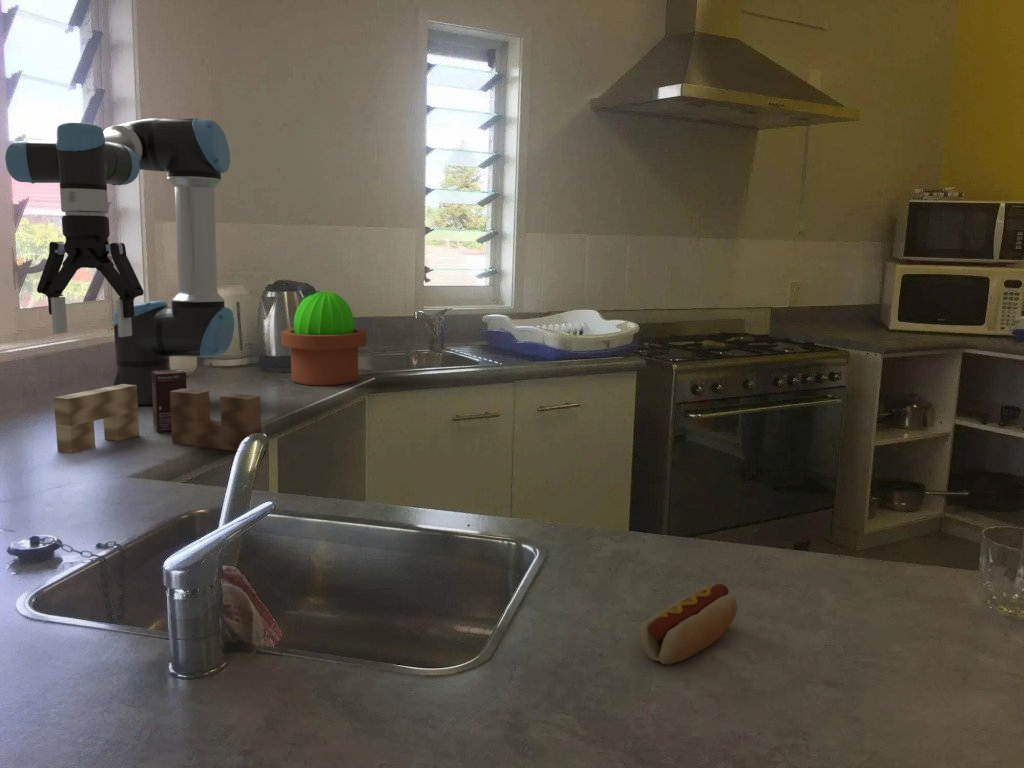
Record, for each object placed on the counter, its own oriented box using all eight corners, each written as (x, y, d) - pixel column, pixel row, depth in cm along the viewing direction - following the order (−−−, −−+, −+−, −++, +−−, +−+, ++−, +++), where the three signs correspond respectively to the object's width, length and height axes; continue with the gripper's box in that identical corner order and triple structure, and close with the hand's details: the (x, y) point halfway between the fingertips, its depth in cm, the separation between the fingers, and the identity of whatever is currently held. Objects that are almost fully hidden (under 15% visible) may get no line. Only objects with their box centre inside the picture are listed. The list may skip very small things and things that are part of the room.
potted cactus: (382, 381, 241) (381, 289, 237) (316, 390, 225) (314, 292, 221) (333, 371, 255) (331, 285, 251) (267, 380, 239) (264, 288, 235)
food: (677, 679, 82) (680, 629, 81) (627, 660, 85) (629, 611, 84) (746, 630, 92) (748, 585, 91) (698, 615, 96) (701, 571, 95)
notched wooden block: (172, 442, 168) (169, 391, 166) (185, 439, 171) (183, 388, 169) (249, 452, 161) (247, 399, 159) (261, 448, 164) (260, 396, 163)
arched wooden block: (71, 453, 159) (68, 399, 157) (57, 451, 160) (53, 397, 158) (139, 435, 173) (136, 385, 172) (125, 433, 175) (122, 384, 173)
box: (158, 433, 175) (155, 373, 173) (153, 429, 179) (150, 370, 177) (189, 430, 179) (186, 371, 177) (184, 425, 182) (181, 368, 180)
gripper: (9, 213, 154) (18, 333, 158) (133, 214, 148) (139, 339, 152) (41, 214, 161) (49, 330, 165) (160, 215, 156) (166, 335, 159)
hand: (92, 334), depth 158 cm, fingers open, 13 cm apart
